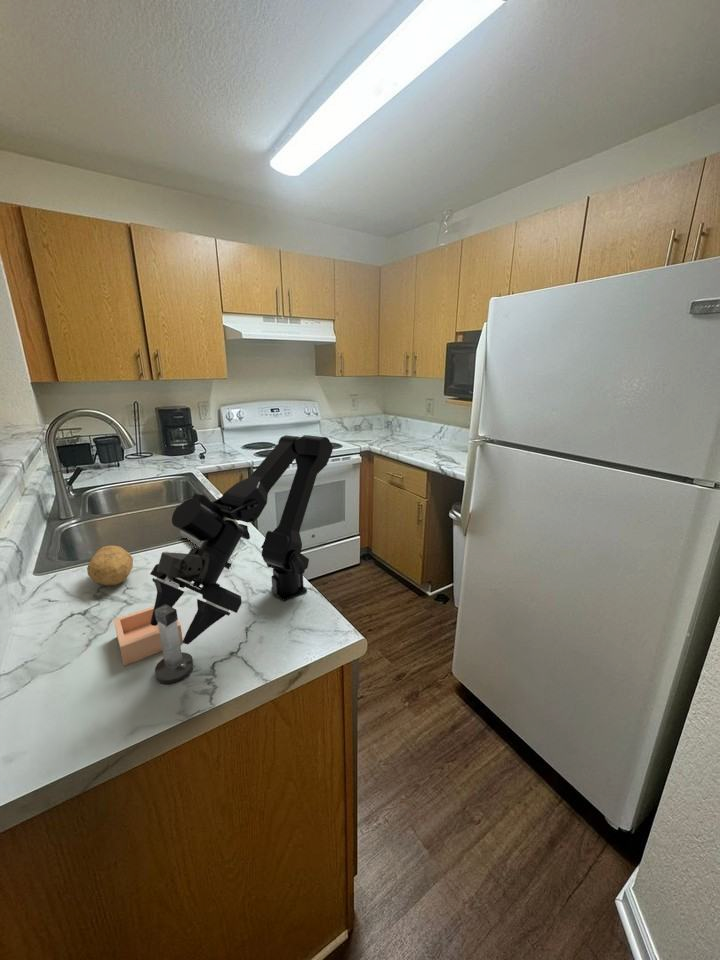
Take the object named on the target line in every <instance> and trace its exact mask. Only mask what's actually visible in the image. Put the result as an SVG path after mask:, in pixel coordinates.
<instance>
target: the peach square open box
mask: <svg viewBox="0 0 720 960" xmlns="http://www.w3.org/2000/svg"><path fill="white" fill-rule="evenodd" d="M154 606H155V605H153V606H150V607H147V608H144V609H142V610H138V611H135V612H132V613H129V614H126V615H122V616H120V617H117V618H114V619H113V623H114V629H115V634H116V638H117V642H118V647H119V651H120V654H121V660H122V663H123V666H124V667H125V666H128V665H130V664H133V663H135V662H137V661H141V660H142V659H145V658H148V657H151V656H153V655H156V654H157V653H162V652H163V650H162V644H161V638H160V632H159V627H158V624H157V625H156V626H153V625H151V624H150V622H151V618H152V614H153V610H154ZM177 626H178V633H179V639H180V645H181V644H184V643H183V640H184V638H183V634H182V633H183V632H182V627H181V624H180V621H179V619H178V620H177Z"/></svg>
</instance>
